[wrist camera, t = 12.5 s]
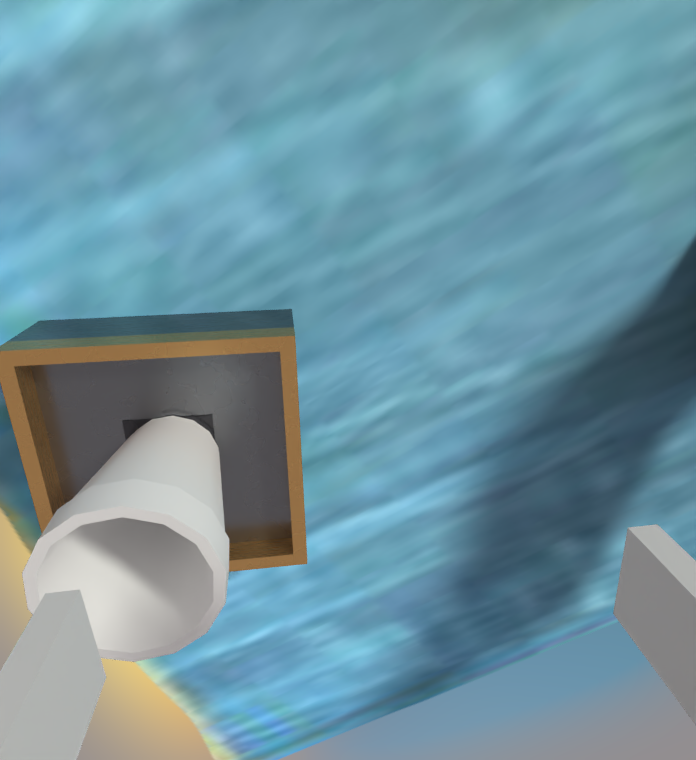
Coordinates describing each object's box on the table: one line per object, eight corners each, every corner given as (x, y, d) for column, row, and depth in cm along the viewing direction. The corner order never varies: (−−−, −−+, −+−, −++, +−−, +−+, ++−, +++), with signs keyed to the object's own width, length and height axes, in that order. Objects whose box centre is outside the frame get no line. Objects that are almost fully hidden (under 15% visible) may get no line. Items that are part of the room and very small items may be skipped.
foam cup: (165, 533, 40) (118, 688, 28) (74, 446, 37) (-24, 581, 25) (267, 465, 39) (265, 595, 27) (183, 369, 36) (138, 471, 24)
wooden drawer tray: (291, 309, 40) (295, 335, 34) (302, 509, 47) (307, 563, 40) (15, 321, 38) (-38, 353, 32) (68, 530, 45) (33, 591, 38)
